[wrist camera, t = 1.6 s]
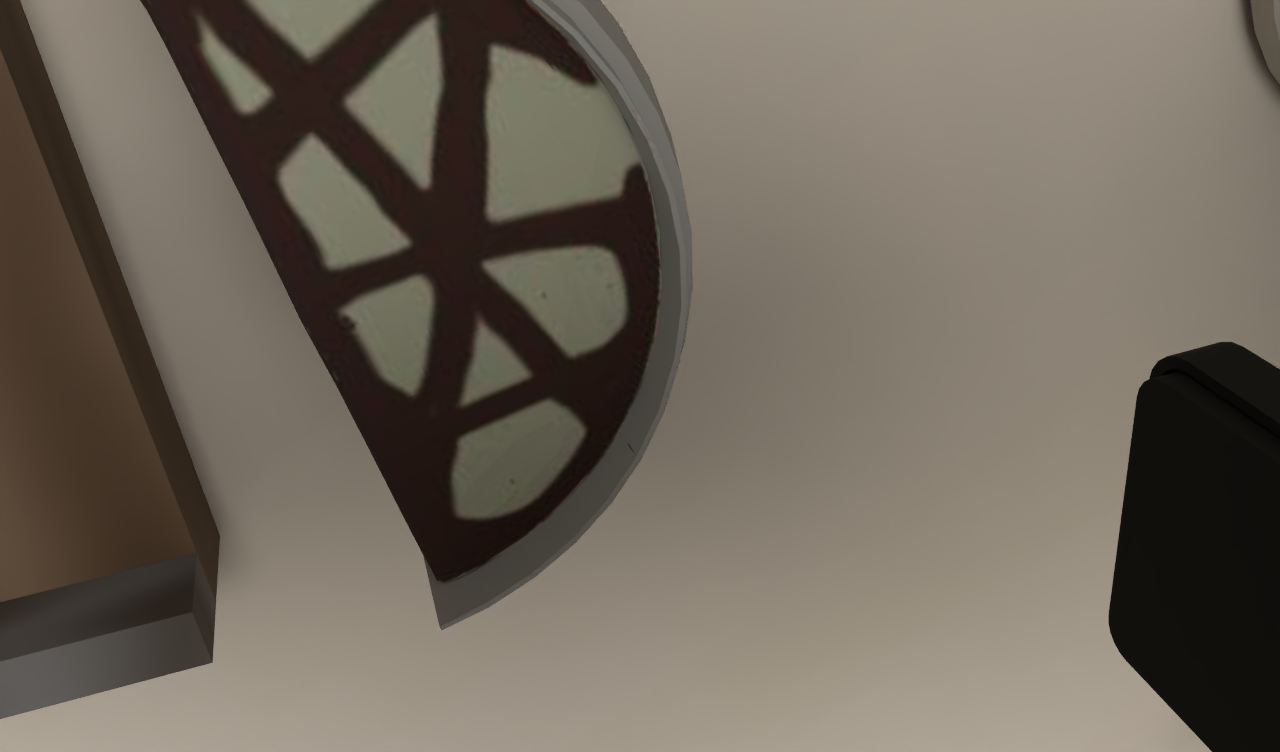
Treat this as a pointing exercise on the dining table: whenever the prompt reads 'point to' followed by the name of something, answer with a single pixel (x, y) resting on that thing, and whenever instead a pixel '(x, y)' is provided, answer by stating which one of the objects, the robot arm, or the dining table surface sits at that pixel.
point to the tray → (83, 435)
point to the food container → (462, 248)
